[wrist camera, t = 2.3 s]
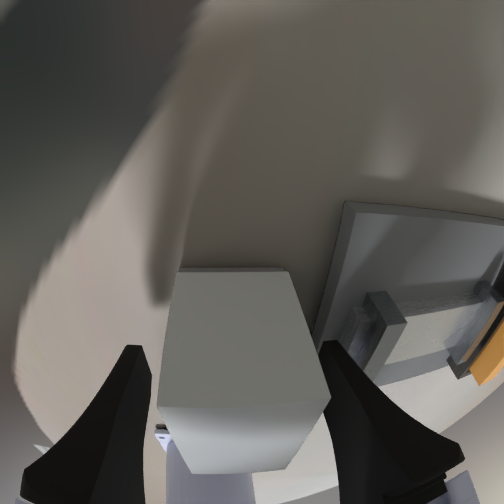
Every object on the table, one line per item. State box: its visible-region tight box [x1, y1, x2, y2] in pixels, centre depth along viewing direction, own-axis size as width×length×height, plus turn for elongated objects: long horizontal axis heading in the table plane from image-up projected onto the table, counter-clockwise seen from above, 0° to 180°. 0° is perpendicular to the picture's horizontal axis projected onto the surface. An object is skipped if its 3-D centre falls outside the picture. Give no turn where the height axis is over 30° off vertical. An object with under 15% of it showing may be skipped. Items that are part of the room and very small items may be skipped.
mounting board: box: [311, 201, 504, 387], centre depth 13 cm, size 12×16×1 cm
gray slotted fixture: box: [339, 262, 504, 382], centre depth 12 cm, size 10×14×2 cm
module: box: [157, 267, 331, 474], centre depth 10 cm, size 7×4×6 cm, turn 176°
